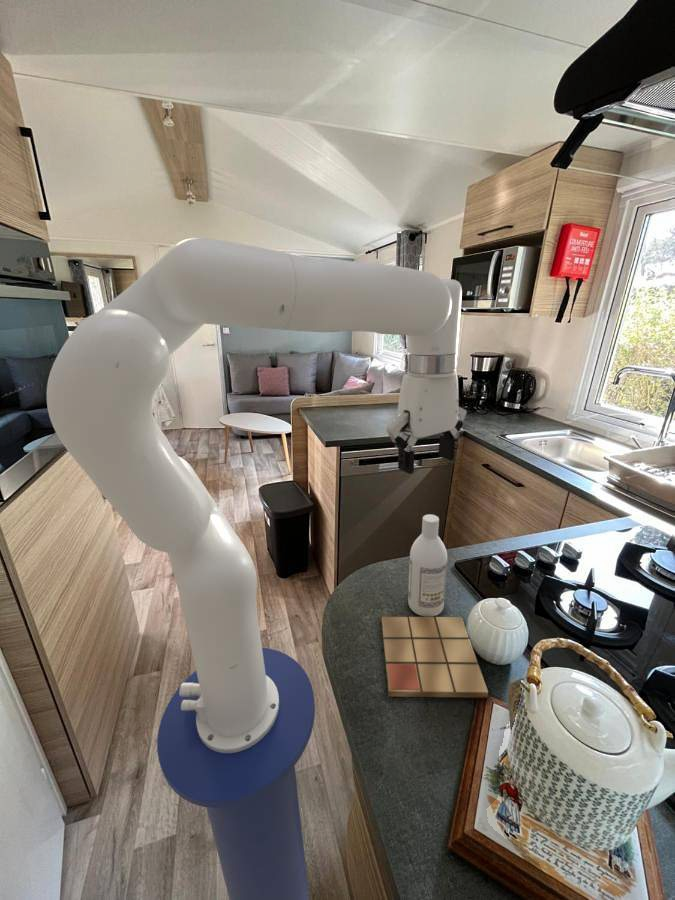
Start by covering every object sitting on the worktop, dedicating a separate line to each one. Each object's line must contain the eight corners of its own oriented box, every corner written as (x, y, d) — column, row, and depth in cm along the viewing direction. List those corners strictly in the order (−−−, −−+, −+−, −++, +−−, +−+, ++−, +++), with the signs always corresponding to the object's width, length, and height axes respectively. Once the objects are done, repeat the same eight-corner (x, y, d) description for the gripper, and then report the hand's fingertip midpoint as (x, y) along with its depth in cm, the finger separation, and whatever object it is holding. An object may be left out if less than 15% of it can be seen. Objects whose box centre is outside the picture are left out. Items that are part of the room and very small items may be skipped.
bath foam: (450, 608, 75) (458, 519, 68) (426, 624, 71) (432, 532, 65) (424, 588, 81) (429, 505, 74) (400, 603, 77) (403, 516, 70)
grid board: (388, 696, 58) (388, 690, 58) (381, 621, 72) (381, 616, 72) (487, 697, 58) (488, 691, 57) (461, 621, 72) (461, 616, 71)
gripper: (451, 357, 67) (444, 448, 73) (374, 368, 59) (374, 469, 65) (487, 361, 62) (477, 459, 67) (407, 373, 53) (403, 484, 59)
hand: (426, 464), depth 66 cm, fingers open, 9 cm apart
